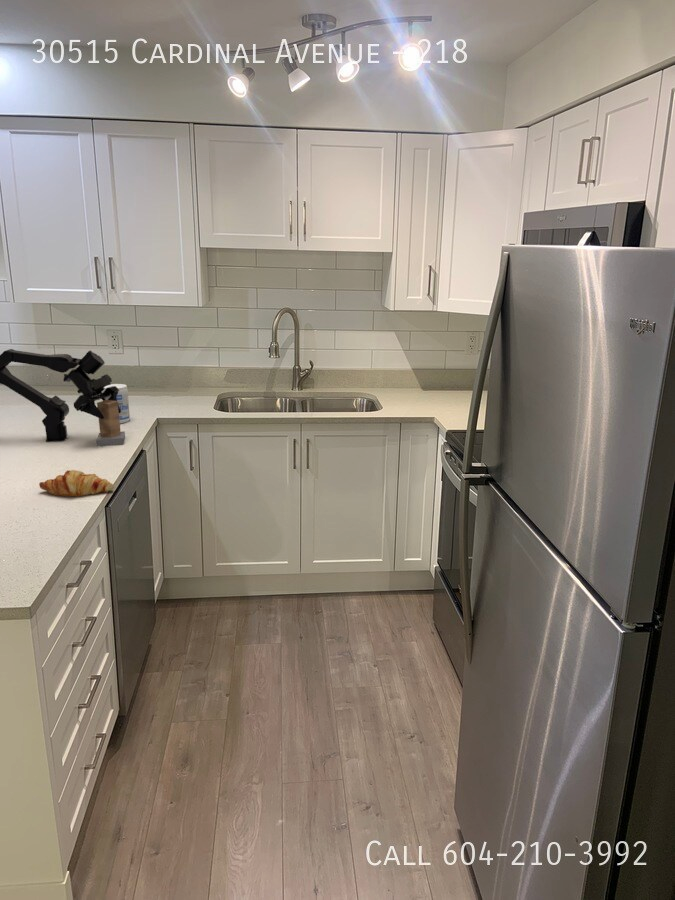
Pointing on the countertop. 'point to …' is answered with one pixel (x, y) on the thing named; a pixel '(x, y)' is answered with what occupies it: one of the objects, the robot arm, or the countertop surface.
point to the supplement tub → (122, 402)
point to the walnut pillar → (109, 418)
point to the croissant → (76, 484)
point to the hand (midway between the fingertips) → (111, 415)
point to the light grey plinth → (111, 440)
